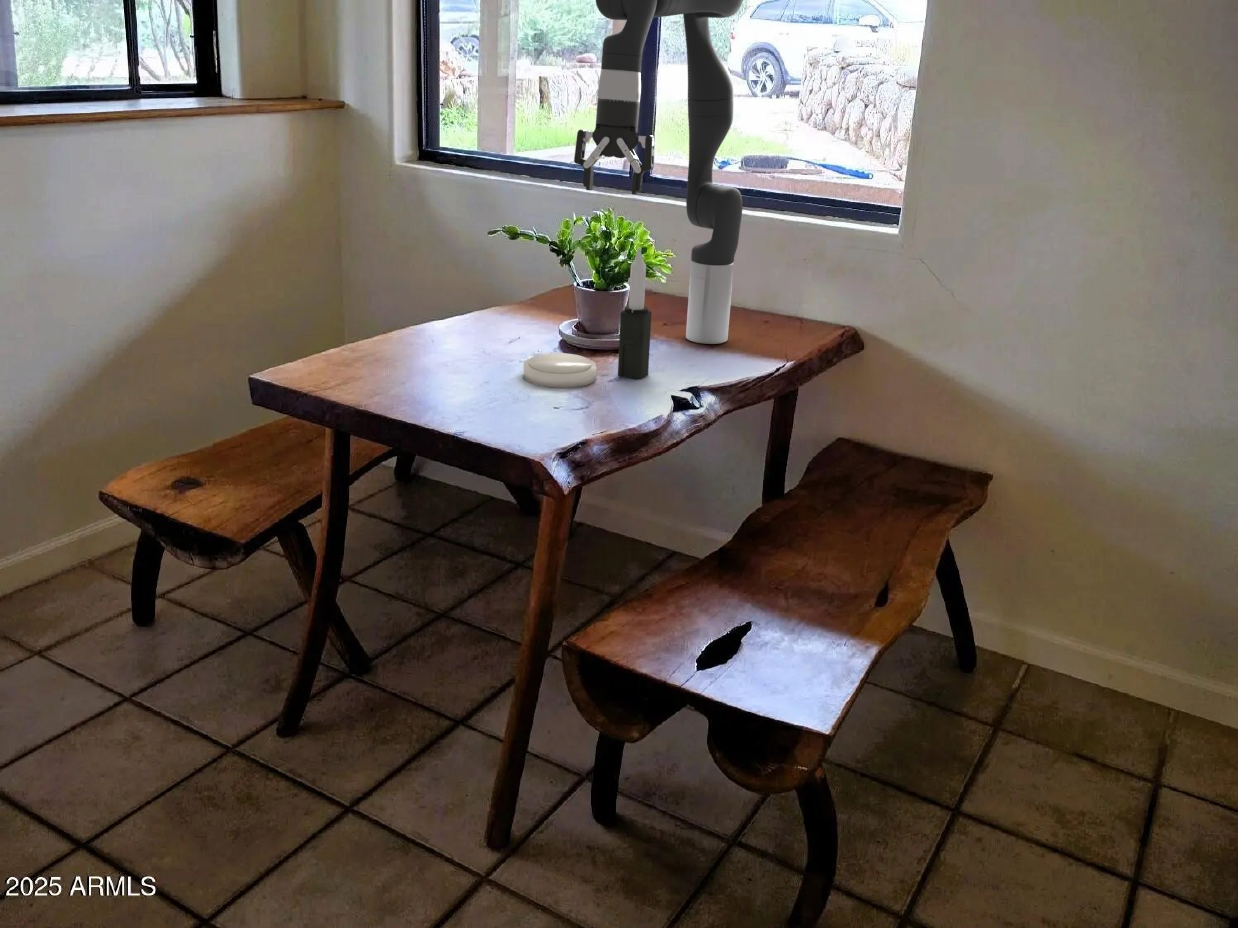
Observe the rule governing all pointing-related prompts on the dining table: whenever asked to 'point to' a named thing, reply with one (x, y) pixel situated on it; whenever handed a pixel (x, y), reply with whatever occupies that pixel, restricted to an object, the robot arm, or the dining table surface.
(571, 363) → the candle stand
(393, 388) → the dining table surface
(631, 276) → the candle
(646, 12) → the robot arm
